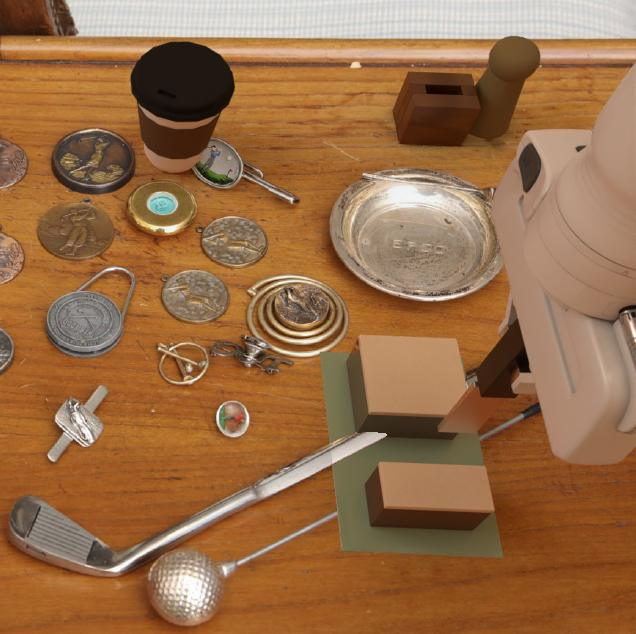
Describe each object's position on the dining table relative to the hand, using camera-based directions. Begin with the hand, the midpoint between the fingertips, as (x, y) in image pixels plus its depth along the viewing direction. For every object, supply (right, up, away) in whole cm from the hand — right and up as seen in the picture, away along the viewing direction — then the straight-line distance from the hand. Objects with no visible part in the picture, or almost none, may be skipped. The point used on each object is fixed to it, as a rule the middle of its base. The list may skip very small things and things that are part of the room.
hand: (515, 361), depth 64 cm
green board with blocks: (0, -9, +21) cm, 23 cm away
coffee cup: (-20, +22, +41) cm, 51 cm away
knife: (0, -6, +10) cm, 12 cm away
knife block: (+10, +25, +43) cm, 51 cm away
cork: (+17, +26, +44) cm, 54 cm away
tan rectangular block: (0, -14, +18) cm, 22 cm away
